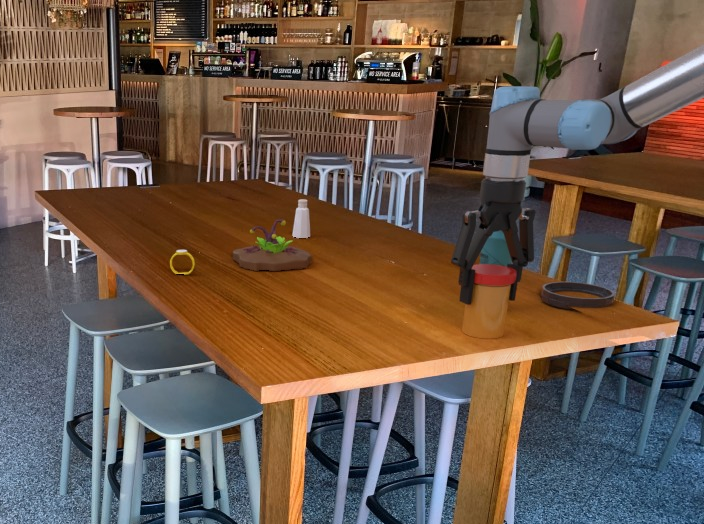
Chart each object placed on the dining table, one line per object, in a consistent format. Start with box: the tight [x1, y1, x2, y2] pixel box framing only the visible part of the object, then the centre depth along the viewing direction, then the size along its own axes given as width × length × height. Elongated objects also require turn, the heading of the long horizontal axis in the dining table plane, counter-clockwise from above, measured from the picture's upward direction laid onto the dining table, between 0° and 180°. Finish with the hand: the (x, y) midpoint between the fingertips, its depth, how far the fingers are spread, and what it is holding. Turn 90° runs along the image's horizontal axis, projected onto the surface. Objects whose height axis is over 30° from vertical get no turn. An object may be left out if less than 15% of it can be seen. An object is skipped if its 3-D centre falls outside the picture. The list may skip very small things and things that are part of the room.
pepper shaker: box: [291, 198, 311, 239], centre depth 235 cm, size 5×5×11 cm
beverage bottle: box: [478, 230, 512, 267], centre depth 163 cm, size 6×7×20 cm
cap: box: [471, 263, 517, 285], centre depth 148 cm, size 9×9×2 cm
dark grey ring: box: [539, 281, 616, 312], centre depth 170 cm, size 14×14×3 cm
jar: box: [461, 283, 511, 340], centre depth 150 cm, size 8×8×12 cm
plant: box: [232, 218, 312, 272], centre depth 205 cm, size 20×20×11 cm
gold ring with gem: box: [169, 249, 196, 276], centre depth 194 cm, size 6×3×6 cm, turn 83°
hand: (487, 300), depth 150 cm, fingers closed on cap, 9 cm apart
